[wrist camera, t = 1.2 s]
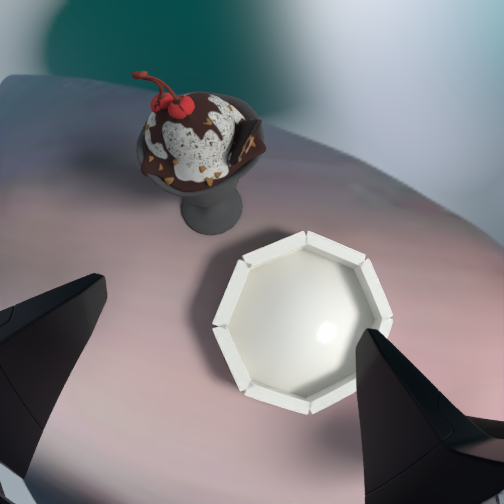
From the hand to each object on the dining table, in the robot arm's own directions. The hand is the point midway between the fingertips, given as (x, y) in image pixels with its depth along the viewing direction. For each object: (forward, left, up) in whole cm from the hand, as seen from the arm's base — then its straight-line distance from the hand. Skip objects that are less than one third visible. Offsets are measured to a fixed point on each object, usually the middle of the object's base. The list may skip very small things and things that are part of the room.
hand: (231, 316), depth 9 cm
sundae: (+2, +9, -13) cm, 16 cm away
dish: (+5, -3, -13) cm, 14 cm away
